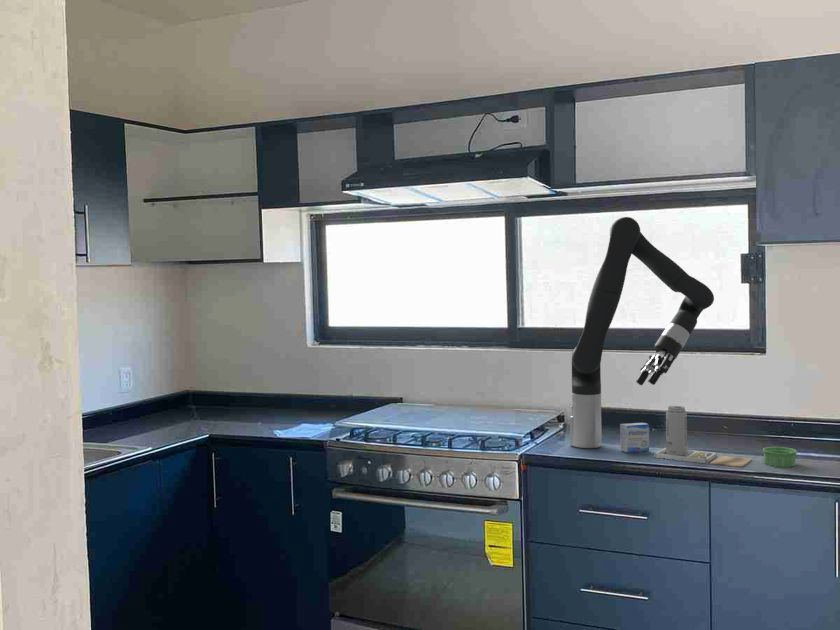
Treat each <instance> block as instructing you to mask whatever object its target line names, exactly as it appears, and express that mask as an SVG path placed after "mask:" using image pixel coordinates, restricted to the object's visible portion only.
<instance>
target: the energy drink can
mask: <svg viewBox="0 0 840 630" xmlns="http://www.w3.org/2000/svg"><path fill="white" fill-rule="evenodd" d="M685 408H686V407H685V406H680V405H670V406H668V408H667V410H666V412H665V427H666V428H665V448H666V453H665V454H666V455H676V456H685V457H686V455H688V454H687V450H688V439H687V438H688V413H687V410H686V409H685Z"/></svg>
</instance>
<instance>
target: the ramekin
mask: <svg viewBox="0 0 840 630" xmlns="http://www.w3.org/2000/svg"><path fill="white" fill-rule="evenodd" d="M762 452H763V461H764V464H765V465H766V464H767V465H766V466H768V465H770V466H769V467H772V466H776V467H775V468H782V467H787V468H792V467H791V466H793V467H794V466H795V465H796V456H797V453H798V451H797V450H796V449H795V448H791V447H783V446H767V447H763V448H762Z"/></svg>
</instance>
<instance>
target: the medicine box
mask: <svg viewBox="0 0 840 630" xmlns="http://www.w3.org/2000/svg"><path fill="white" fill-rule="evenodd" d="M619 447H620V448H619V449H620V451H621V452H623V451H624V452H623V453H626V452H627V453H626V454H634V453H633V452H637V453H645V452H644V451H648V452H649V451H650V424H649V423H646V422H633V423H632V422H631V423H619Z"/></svg>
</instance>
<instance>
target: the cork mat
mask: <svg viewBox="0 0 840 630" xmlns="http://www.w3.org/2000/svg"><path fill="white" fill-rule="evenodd" d="M752 460H753V459H752V458H747V457H746V458H745V457H738V456H726V455H719V456H717V457H716V458H714V459H713V460H711V461H710V462H709V464H710V465H714V466H715V465H716V466H724V467H734V468H741V469H743V468H744V467H745V466H746V465H747V464H749V463H750V462H751V461H752Z"/></svg>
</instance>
